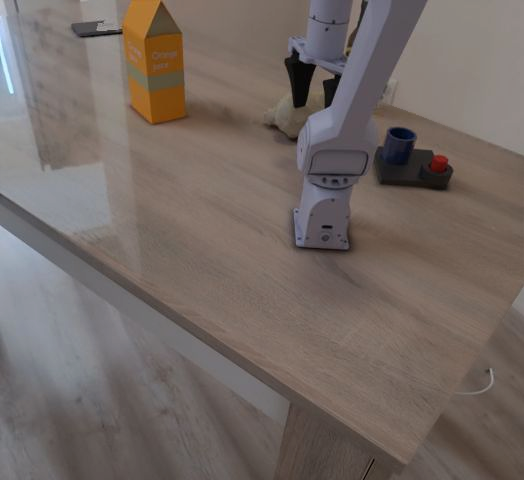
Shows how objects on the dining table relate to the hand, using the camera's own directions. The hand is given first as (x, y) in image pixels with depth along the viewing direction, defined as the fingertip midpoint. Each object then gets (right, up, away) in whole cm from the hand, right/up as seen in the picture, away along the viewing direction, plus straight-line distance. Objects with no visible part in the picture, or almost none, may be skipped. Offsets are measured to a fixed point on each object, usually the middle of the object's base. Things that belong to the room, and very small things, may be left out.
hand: (313, 116), depth 77 cm
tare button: (+23, -6, +8) cm, 25 cm away
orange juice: (-29, +10, +19) cm, 37 cm away
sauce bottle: (+11, +15, +28) cm, 33 cm away
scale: (+19, -4, +12) cm, 22 cm away
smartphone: (-49, +45, +46) cm, 81 cm away
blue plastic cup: (+17, -2, +12) cm, 21 cm away
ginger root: (+1, +7, +19) cm, 20 cm away
